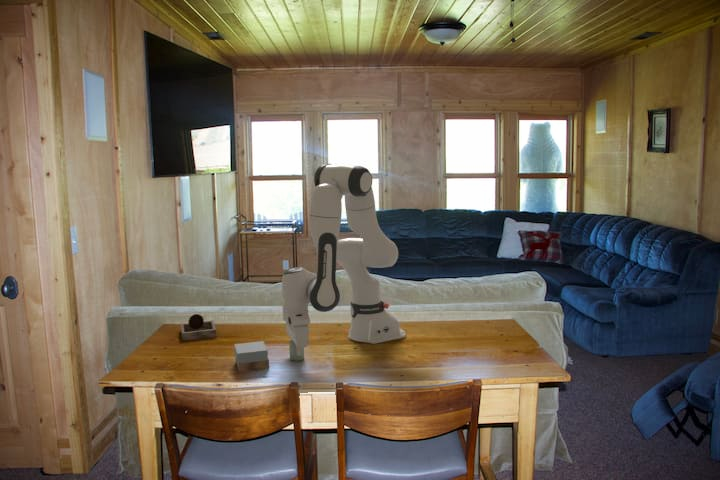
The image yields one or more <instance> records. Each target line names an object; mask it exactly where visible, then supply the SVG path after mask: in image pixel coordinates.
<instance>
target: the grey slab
mask: <svg viewBox="0 0 720 480" xmlns="http://www.w3.org/2000/svg"><path fill="white" fill-rule="evenodd" d="M233 345H234V346H233V348H234V357H235V356H236V357H235V361H236V360H237V363H238V364H240V363H248V362H257V361H265V360H268V359H269V355H268V348H267V346H266V344H265V341H264V340H261V341H251V342H243V343H235V344H233Z"/></svg>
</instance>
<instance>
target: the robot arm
mask: <svg viewBox="0 0 720 480" xmlns="http://www.w3.org/2000/svg"><path fill="white" fill-rule="evenodd" d="M313 176H314V177H313V179H314V180H313V181H314V189H313V192H312V196H311V200H310V205H309V213H308V215H309V216H308V227H309V228H308V229H309V235H310V236H311V239H312V241H313V243H314V244H313V245H314V246H315V249H316V255H317V258H316V261H317V262H316V273H314V272H312V271H309V270H308V269H306V268H304V267H300V266H297V267H291V268H289V269H287V270H285V271H284V272H283V274H282V280H281V295H282V298H283V302H282V320H283V321H285V330H286V333H287V335H288V336H289V337H290V341H291V340H293V342H294V343H295V345H296V354H297V355H298V356H299V355H302V348H304V349H305V348H307V347H308V344H309V333H310V332H309V331H310V330H309V325H310V324H311V318H310V316H309V303H310V304H311V306H312V308H314V310H316V311H318V312H320V313H327V312H330V311H333V310H334V309H335V308H336V307H337V306H338V304H339V303H340V299H341V295H340V293H341V292H340V290H339V287H338V285H337V280H336V279H337V278H336V275H337V274H336V272H337V271H336V270H337V264H339V265H340V266H341V267H342V268H343V269H344V271H345V272H346V274H347V276H348V279H349V281H350V288H351V301H350V316H351V317H350V318H351V321H350V326H349V327H350V328H349V332H348V338H349V339H350V340H352V341H354V342H358V343H359V342H360V343H367V344H372V345H376V344H380V343H384V342H390V341H394V340H399V339H404V338H406V331H404V330H403V328H401V327H400V323H399V321H398V318H397V317H395V316H394V315H393V314H391V313H390V312H389V311H387V310H388V309H389V308H390V305H389V303H387V302H385V301H382V300H381V283H380V281H379V279H378V278H377V277H375V276H374V275H372V274H371V273H370V271H368V269H367V268H375V269H376V268H377V269H379V268H380V269H383V268H389V267H393V266H394V265H395V264H396V263H397V261H398V258H399V249H398V246H397V245H396V243H395V242H394V241H393V240H391V239H390V238H389V237H388V236H386V235H385V233H384V232H383V231H382V229H381V227H380V225H379V222H378V218H377V210H376V201H375V196H374V191H373V188H372V187H373V175H372V174H371V172H370V170H369V169H368V168H366V167H365V166H361V165H353V164H350V163H349V164H347V163H339V164H338V163H333V164H332V163H324V164H320V165H319V166H318V167H317V169H316V170H315V172H314V175H313ZM343 197H344V205H345V215H346V223H347V226H348V228H349V230H351V231H352V232H354V233H355V234H357V235H358V236H359V237H347V238H341V239H339V238H340V237H339V236H340V231H341V223H342V211H343V210H342V208H343V207H342V204H343V203H342V199H343ZM386 309H387V310H386Z"/></svg>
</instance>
